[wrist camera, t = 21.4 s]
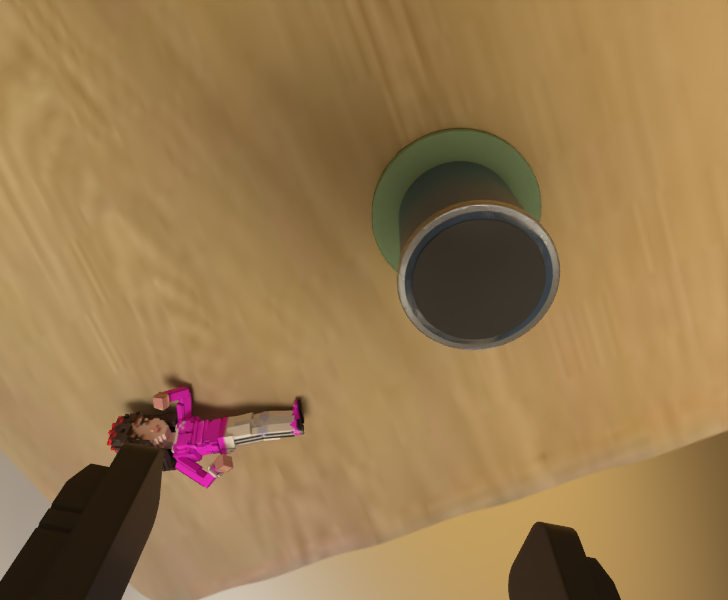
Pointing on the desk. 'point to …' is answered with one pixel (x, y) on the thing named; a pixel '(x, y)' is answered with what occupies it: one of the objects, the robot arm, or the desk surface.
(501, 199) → the blue metal can
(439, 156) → the mat
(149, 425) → the character figurine
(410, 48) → the desk surface
